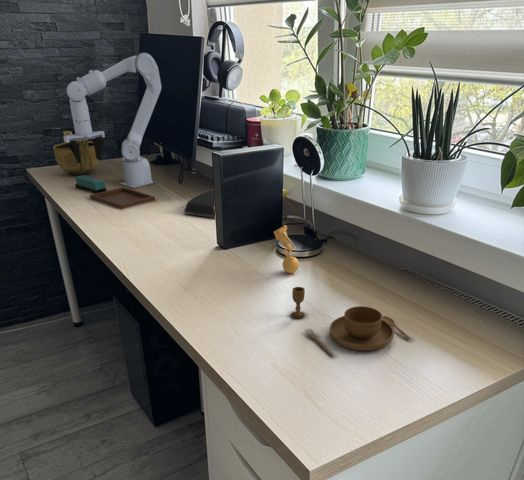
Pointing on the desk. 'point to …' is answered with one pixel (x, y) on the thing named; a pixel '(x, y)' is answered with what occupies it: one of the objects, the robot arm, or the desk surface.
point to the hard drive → (201, 205)
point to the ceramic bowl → (68, 159)
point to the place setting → (354, 326)
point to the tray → (122, 197)
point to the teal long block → (90, 184)
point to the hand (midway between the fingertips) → (89, 161)
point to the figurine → (289, 262)
